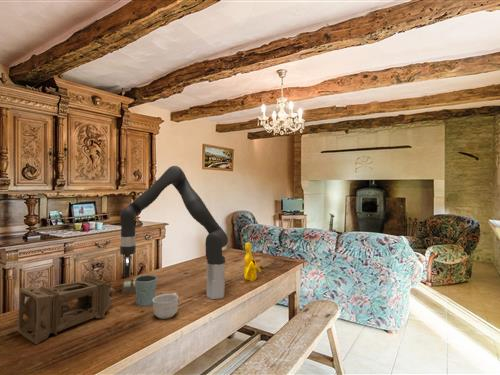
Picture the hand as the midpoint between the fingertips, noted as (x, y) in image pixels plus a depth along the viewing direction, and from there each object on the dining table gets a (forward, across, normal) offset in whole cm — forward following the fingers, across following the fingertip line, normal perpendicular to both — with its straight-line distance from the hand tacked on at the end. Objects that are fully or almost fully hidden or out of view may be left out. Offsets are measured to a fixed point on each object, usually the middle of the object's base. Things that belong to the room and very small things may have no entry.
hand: (127, 277), depth 159 cm
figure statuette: (+7, 0, -70) cm, 70 cm away
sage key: (+5, 0, 0) cm, 5 cm away
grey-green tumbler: (+8, -19, -9) cm, 22 cm away
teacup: (+8, -35, -18) cm, 40 cm away
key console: (+7, +2, -4) cm, 9 cm away
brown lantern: (+8, -30, +18) cm, 36 cm away
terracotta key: (+5, 0, -4) cm, 7 cm away
